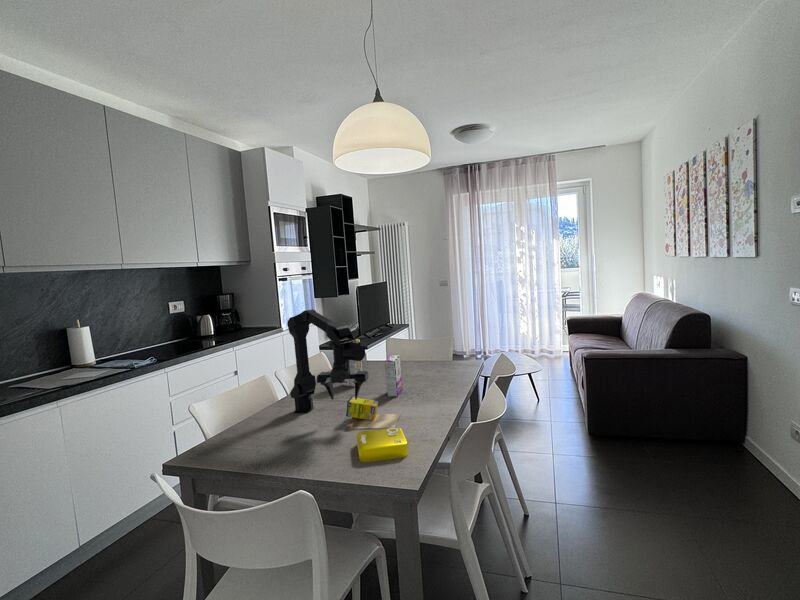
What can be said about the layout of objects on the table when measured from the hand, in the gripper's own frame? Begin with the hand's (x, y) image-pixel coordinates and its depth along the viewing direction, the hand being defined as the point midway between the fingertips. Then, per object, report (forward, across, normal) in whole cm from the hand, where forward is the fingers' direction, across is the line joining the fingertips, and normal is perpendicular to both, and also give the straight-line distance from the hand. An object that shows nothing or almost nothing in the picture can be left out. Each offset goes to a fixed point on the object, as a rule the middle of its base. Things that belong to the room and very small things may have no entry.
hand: (344, 399), depth 163 cm
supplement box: (+4, 0, +3) cm, 4 cm away
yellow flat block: (+9, +19, -24) cm, 32 cm away
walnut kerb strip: (+9, +3, 0) cm, 9 cm away
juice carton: (+9, -11, +52) cm, 54 cm away
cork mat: (+9, +12, 0) cm, 15 cm away
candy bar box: (+9, +13, +36) cm, 39 cm away
